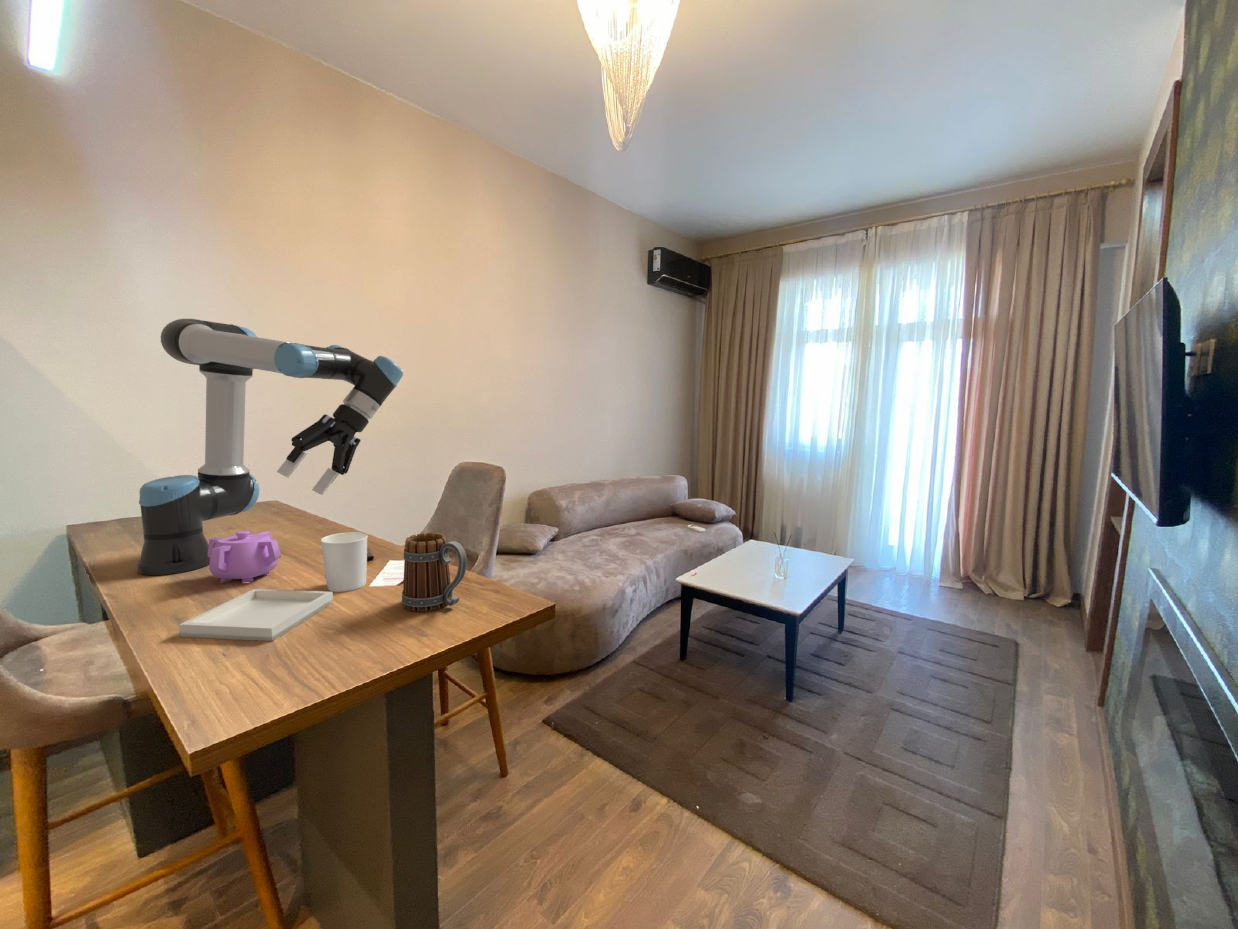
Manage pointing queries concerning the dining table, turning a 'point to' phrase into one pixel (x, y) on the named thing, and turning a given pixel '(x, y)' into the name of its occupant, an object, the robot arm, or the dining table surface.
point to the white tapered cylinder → (345, 561)
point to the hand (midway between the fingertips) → (300, 484)
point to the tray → (257, 615)
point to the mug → (430, 572)
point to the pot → (243, 556)
